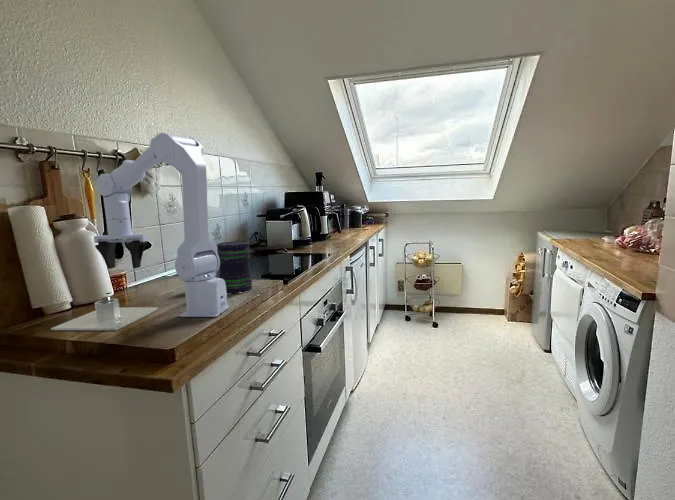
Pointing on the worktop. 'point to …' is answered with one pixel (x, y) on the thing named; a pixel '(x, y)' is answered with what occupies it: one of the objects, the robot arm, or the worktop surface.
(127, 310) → the thin grey base plate
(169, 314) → the worktop surface
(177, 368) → the worktop surface
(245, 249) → the storage jar
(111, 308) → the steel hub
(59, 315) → the worktop surface
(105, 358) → the worktop surface
